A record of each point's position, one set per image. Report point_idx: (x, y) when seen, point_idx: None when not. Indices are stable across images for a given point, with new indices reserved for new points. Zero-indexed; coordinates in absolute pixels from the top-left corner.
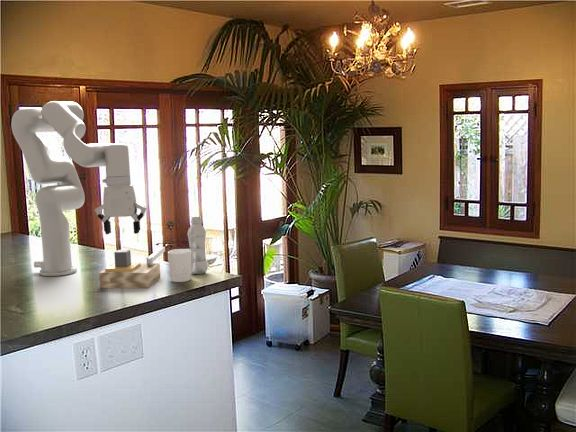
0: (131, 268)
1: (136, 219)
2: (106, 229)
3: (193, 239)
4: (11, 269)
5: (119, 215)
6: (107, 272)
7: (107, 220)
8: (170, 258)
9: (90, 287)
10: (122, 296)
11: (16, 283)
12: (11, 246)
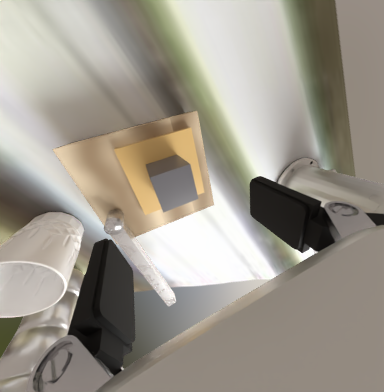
0: (118, 153)
1: (57, 368)
2: (271, 186)
3: (7, 367)
4: (348, 175)
5: (252, 310)
6: (177, 120)
7: (318, 233)
8: (31, 247)
9: (205, 111)
10: (58, 29)
11: (331, 104)
12: None
